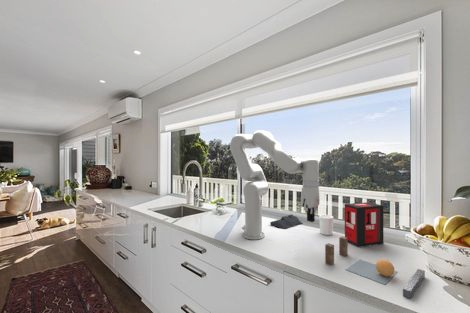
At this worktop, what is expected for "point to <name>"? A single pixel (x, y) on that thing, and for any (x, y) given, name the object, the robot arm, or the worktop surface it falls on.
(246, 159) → the robot arm
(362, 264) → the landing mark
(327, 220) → the white cup
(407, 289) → the wall
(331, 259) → the post
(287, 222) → the dark slate chunk
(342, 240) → the post
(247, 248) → the worktop surface
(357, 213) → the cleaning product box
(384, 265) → the ball
